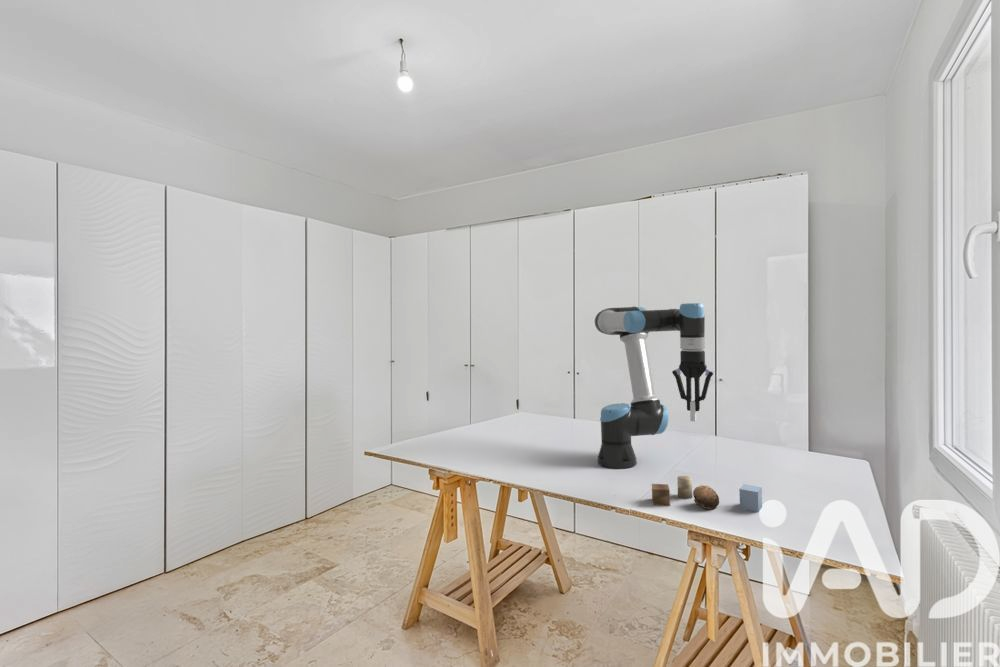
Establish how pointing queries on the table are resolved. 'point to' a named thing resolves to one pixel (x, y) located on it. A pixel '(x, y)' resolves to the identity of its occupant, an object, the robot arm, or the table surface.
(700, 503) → the mushroom
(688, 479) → the birch cylinder
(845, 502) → the table surface
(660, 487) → the walnut block
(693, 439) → the table surface
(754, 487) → the slate block
